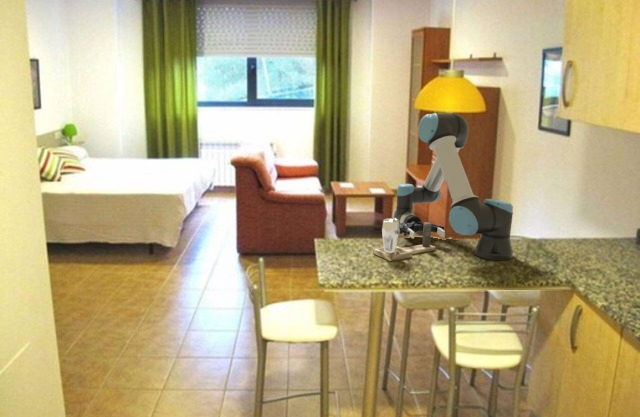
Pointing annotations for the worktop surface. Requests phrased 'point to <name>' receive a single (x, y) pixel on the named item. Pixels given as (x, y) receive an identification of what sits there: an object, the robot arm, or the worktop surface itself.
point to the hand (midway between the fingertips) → (428, 234)
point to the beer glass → (390, 235)
